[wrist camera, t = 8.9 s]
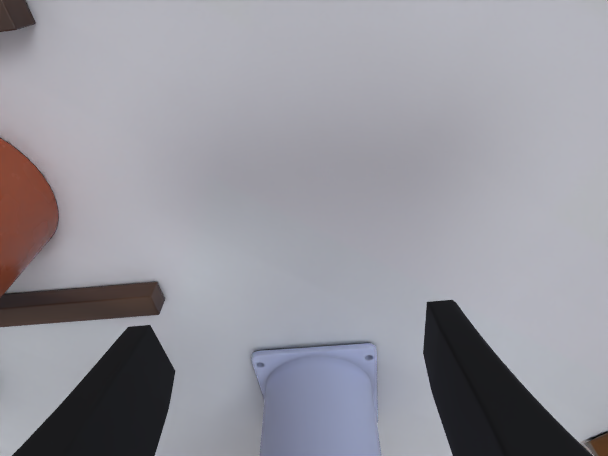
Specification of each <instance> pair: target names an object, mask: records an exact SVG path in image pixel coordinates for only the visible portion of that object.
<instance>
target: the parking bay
mask: <svg viewBox="0 0 608 456" xmlns="http://www.w3.org/2000/svg"><path fill="white" fill-rule="evenodd" d="M33 24H35V21H34V19H33V17H32V15H31V12H30V10H29V8H28V6H27V4H26V2H25V0H0V32H4V31H12V30H17V29H21V28H24V27H27V26H30V25H33ZM164 301H165V298H164V296H163V294H162V292H161V290H160V288H159V285H158V283H157V282H147V283H135V284H123V285H111V286H99V287H88V288H76V289H64V290H52V291H40V292H28V293H17V294H5V295H2V297H1V298H0V327H9V326H21V325H34V324H47V323H60V322H73V321H86V320H98V319H111V318H124V317H137V316H150V315H159V314H160V311H161V309H162V306H163V304H164Z"/></svg>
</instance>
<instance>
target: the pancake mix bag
mask: <svg viewBox="0 0 608 456" xmlns="http://www.w3.org/2000/svg"><path fill="white" fill-rule="evenodd" d="M586 445H587V447H588V448H589V449H590V450H591V452H592V453H593V454H594V456H608V433H606V434H603V435H601V436H599V437H597V438H595V439H593V440H591V441H589V442H587V443H586Z"/></svg>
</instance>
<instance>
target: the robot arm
mask: <svg viewBox="0 0 608 456" xmlns="http://www.w3.org/2000/svg"><path fill="white" fill-rule="evenodd" d="M423 354H424V359H425V363H426V368H427V373H428V377H429V381H430V386H431V390H432V394H433V397H434V400H435V403H436V406H437V409H438V412H439V415H440V418H441V421H442V424H443V427H444V430H445V433H446V436H447V439H448V442H449V445H450V448H451V451H452V454H453V456H593V455H592V454H590V453H589V452H588V451H587V450H586V449H585V448H584V447H583V446H582V445H581V444H580V443H579V442H578V441H577V440H576V439H575V438H574V437H573V436H572V435H571V434H570V433H568V432H567V431H566V430H565V429H564V428H563V427H562V426H561V425H560V424H559V423H558V422H557V421H556V420H555V419H554V418H553V416H552V415H551V414H550V413H549V412H548V411H547V410H546V409H545V408H544V407H543V406H542V405H541V404H540V403H539V402H538V401H537V400H536V399H535V398H534V397H533V396H532V394H531V393H530V392H529V391H528V390H527V389H526V388H525V387H524V386H523V385H522V384H521V382H520V381H519V380H518V379H517V378H516V377H515V376H514V374H513V373H512V372H511V371H510V370H509V369H508V368H507V366H506V365H505V364H504V363H503V362H502V361H501V360H500V358H499V357H498V356H497V355H496V354H495V352H494V351H493V350H492V349H491V348H490V346H489V345H488V344H487V343H486V341H485V340H484V339H483V338H482V337H481V335H480V334H479V333H478V331H477V330H476V329H475V328H474V326H473V325H472V324H471V322H470V321H469V320H468V318H467V317H466V316H465V314H464V313H463V312H462V310H461V309H460V308H459V306H458V305H457V303H456V302H454V301H453V300H445V301H433V302H427V310H426V323H425V336H424V350H423ZM251 361H252V364H253V367H254V370H255V373H256V376H257V379H258V382H259V385H260V388H261V391H262V394H263V397H264V400H265V402H264V413H263V424H262V435H261V445H260V456H382V455H381V448H380V441H379V434H378V427H377V422H378V401H377V351H376V347H375V345H373V344H371V343H364V344H350V345H335V346H321V347H306V348H292V349H278V350H263V351H255V352H254V353H253V354H252V357H251ZM174 375H175V370H174V368H173V366H172V364H171V362H170V360H169V359H168V357H167V355H166V353H165V351H164V349H163V348H162V346H161V344H160V342H159V340H158V338H157V337H156V335H155V333H154V331H153V329H152V327H151V326H150V325H145V326H133V327H128V328H127V329H126V330H125V331H124V332H123V333H122V335H121V336H120V337H119V338H118V339H117V340H116V341H115V343H114V344H113V345H112V346H111V347H110V348H109V350H108V351H107V352H106V353H105V354H104V355H103V357H102V358H101V359H100V360H99V361H98V362H97V364H96V365H95V366H94V367H93V368H92V369H91V371H90V372H89V373H88V374H87V375H86V376H85V377H84V379H83V380H82V381H81V382H80V383H79V384H78V385H77V387H76V388H75V389H74V390H73V391H72V392H71V393H70V394H69V396H68V397H67V398H66V399H65V400H64V401H63V402H62V404H61V405H60V406H59V407H58V408H57V409H56V410H55V411H54V412H53V413H52V414H51V415H50V416H49V417H48V418H47V420H46V421H45V422H44V423H43V424H42V425H41V426H40V427H39V428H38V429H37V430H36V431H35V432H34V433H33V434H32V435H31V437H30V438H29V439H28V440H27V441H26V442H25V443H24V444H23V445H22V446H21V447H20V448H19V449H18V450H17V451H16V452H15V453H14V454H13V455H12V456H155V452H156V449H157V446H158V443H159V439H160V436H161V433H162V429H163V426H164V423H165V419H166V416H167V413H168V409H169V404H170V399H171V393H172V387H173V381H174Z"/></svg>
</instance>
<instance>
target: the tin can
mask: <svg viewBox="0 0 608 456" xmlns="http://www.w3.org/2000/svg"><path fill="white" fill-rule="evenodd" d="M57 224H58V208H57V203H56V200H55V197H54V194H53V192H52V190H51V188H50V186H49V184H48V183H47V181H46V180H45V178H44V177H43V175H42V174H41V173H40V172H39V170H38V169H37V168H36V167H35V166H34V165H33V164H32V163H31V162H30V161H29V160H28V159H27V158H26V157H25V156H24V155H23V154H22V153H20V152H19V151H18V150H17V149H16V148H14V147H13V146H11V145H10V144H9V143H7V142H6V141H4V140H2V139H1V138H0V298H1V297H2V295H3V294H4V293H5V292H6V291H7V290H8V288H9V287H10V286H11V285H12V284H13V282H14V281H15V280H16V279H17V278H18V277H19V275H20V274H21V273H22V272H23V271H24V270H25V268H26V267H27V266H28V265H29V264H30V263H31V261H32V260H33V259H34V258H35V257H36V255H37V254H38V253H39V252H40V251H41V250H42V248H43V247H44V246H45V245H46V244H47V243H48V241H49V240H50V239H51V238H52V236H53V235H54V233H55V231H56V228H57Z"/></svg>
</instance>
